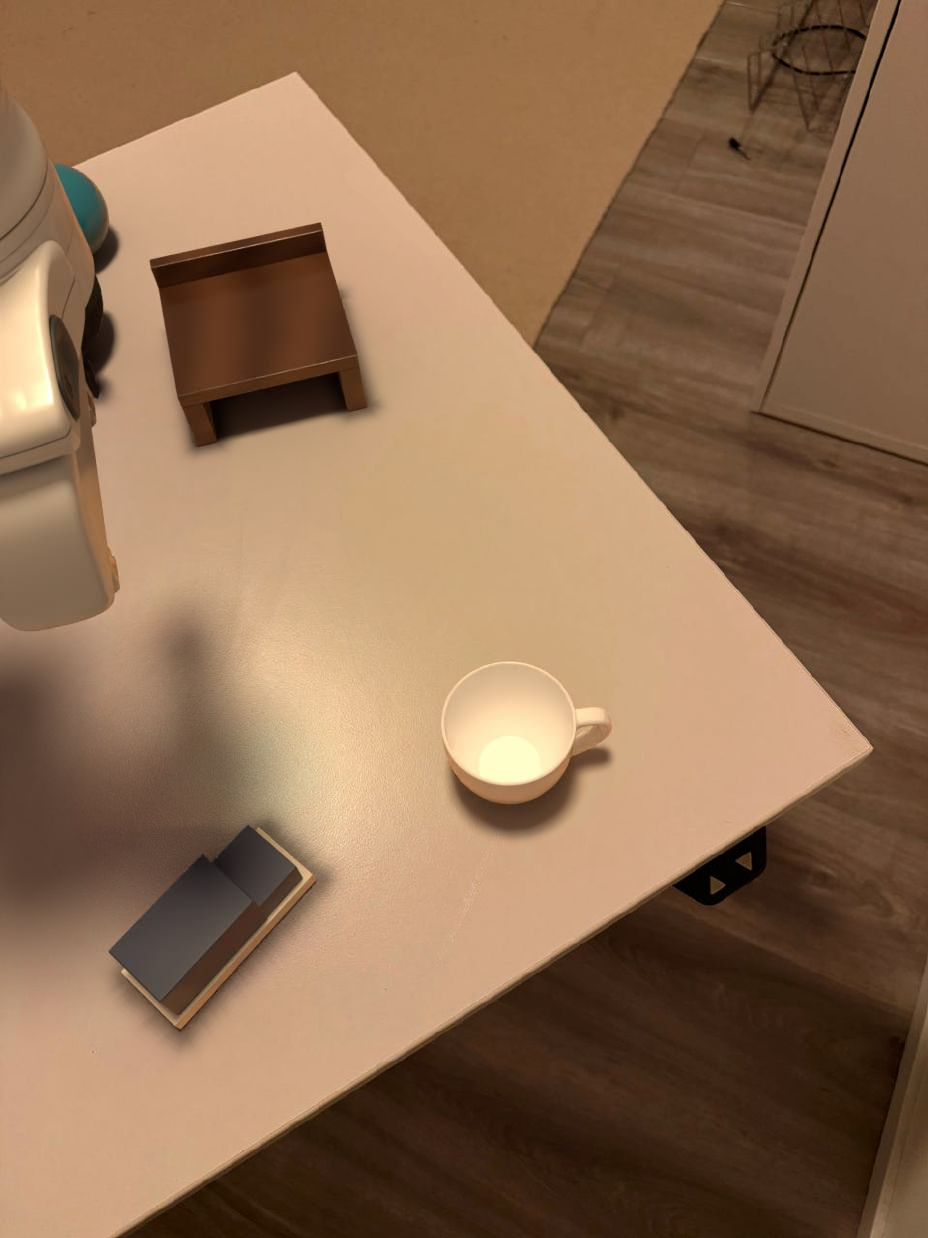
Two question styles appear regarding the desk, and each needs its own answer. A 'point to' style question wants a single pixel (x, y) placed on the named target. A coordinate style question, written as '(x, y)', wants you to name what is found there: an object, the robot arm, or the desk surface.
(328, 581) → the desk surface
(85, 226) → the ball
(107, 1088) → the desk surface
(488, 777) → the cup
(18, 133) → the robot arm
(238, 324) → the shelf
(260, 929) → the navy stepped block
